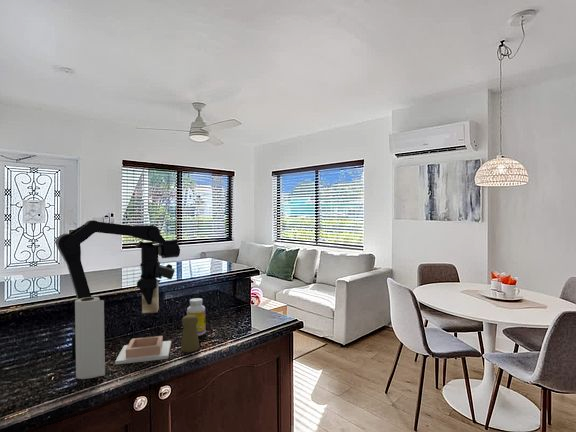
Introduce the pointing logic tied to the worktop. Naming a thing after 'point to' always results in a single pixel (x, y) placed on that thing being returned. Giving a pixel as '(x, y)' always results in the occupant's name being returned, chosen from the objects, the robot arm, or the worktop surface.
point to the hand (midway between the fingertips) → (150, 302)
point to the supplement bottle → (198, 314)
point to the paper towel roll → (89, 337)
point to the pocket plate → (144, 350)
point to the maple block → (154, 304)
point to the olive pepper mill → (190, 334)
